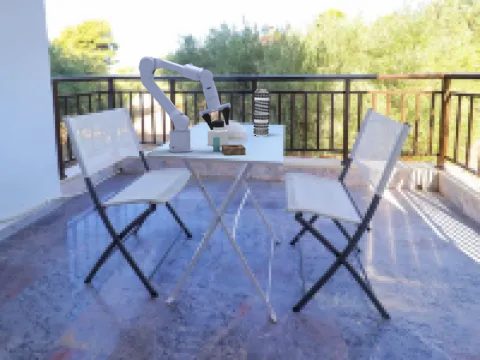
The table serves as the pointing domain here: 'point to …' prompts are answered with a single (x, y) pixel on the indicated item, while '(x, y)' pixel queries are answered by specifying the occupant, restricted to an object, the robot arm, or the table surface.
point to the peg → (216, 144)
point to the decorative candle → (261, 112)
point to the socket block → (233, 149)
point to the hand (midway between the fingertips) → (219, 127)
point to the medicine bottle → (218, 133)
